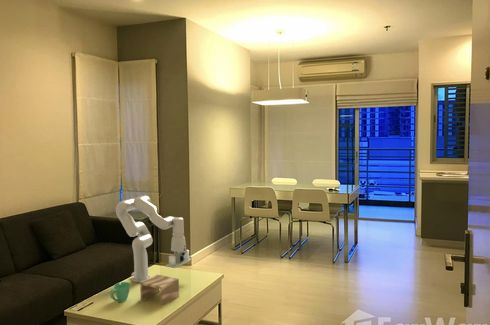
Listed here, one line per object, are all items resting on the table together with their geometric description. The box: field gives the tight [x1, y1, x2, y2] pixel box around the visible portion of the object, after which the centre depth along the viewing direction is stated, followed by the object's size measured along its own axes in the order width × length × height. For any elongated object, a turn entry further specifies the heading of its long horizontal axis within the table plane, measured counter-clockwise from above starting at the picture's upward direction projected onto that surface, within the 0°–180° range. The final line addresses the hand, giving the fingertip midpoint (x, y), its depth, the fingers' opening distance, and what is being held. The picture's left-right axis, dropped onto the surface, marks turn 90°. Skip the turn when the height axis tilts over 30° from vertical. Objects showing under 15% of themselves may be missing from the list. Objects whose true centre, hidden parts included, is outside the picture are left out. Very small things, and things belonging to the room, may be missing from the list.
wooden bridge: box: [139, 274, 180, 306], centre depth 260 cm, size 18×16×12 cm
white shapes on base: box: [166, 249, 193, 269], centre depth 285 cm, size 7×20×8 cm, turn 151°
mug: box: [109, 281, 131, 302], centre depth 255 cm, size 15×10×10 cm
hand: (179, 260), depth 285 cm, fingers closed on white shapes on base, 4 cm apart
